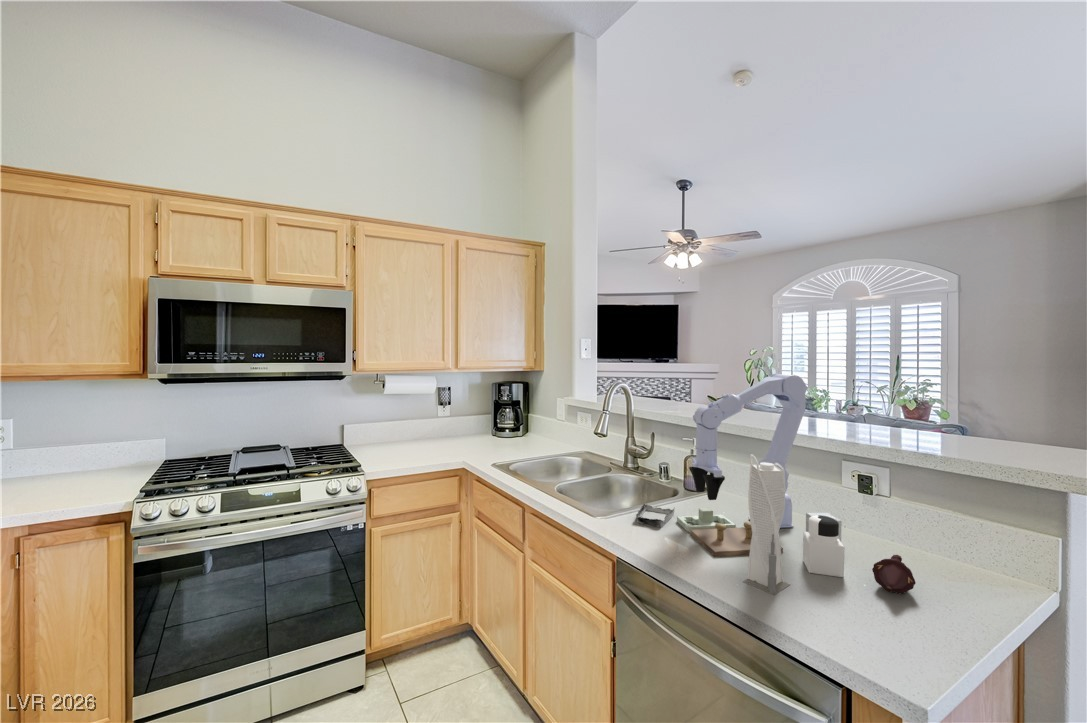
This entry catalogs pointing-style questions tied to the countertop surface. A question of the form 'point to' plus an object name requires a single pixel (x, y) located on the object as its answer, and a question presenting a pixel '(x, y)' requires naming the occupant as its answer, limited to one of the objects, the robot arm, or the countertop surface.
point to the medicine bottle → (823, 547)
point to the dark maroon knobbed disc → (893, 575)
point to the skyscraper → (766, 526)
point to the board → (726, 539)
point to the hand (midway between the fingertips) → (706, 495)
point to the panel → (703, 525)
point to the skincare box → (822, 515)
